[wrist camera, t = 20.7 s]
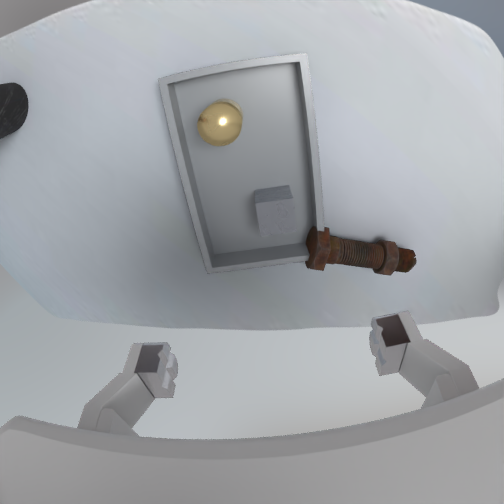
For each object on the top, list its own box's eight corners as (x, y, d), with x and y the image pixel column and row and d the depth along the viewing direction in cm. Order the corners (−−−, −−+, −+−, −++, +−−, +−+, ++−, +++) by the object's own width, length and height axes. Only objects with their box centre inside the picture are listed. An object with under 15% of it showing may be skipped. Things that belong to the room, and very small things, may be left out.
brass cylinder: (240, 95, 31) (237, 100, 26) (246, 130, 33) (245, 142, 28) (202, 102, 31) (193, 108, 26) (209, 136, 33) (202, 149, 28)
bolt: (398, 251, 43) (303, 236, 41) (417, 234, 39) (316, 215, 37) (404, 288, 41) (304, 277, 39) (425, 273, 36) (318, 259, 34)
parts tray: (301, 54, 29) (306, 53, 26) (320, 242, 41) (325, 258, 38) (166, 77, 30) (157, 78, 27) (210, 257, 42) (207, 273, 39)
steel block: (289, 184, 36) (293, 198, 33) (292, 215, 38) (296, 231, 35) (254, 189, 37) (255, 203, 33) (259, 220, 39) (260, 236, 35)
